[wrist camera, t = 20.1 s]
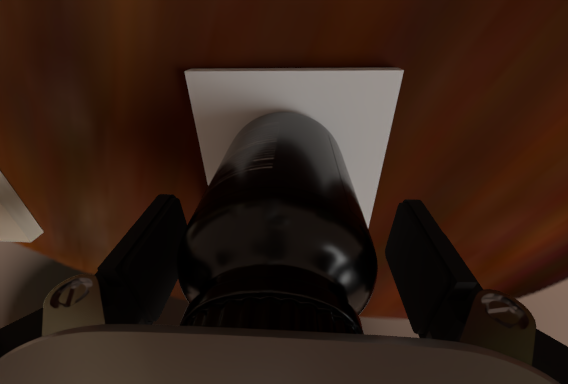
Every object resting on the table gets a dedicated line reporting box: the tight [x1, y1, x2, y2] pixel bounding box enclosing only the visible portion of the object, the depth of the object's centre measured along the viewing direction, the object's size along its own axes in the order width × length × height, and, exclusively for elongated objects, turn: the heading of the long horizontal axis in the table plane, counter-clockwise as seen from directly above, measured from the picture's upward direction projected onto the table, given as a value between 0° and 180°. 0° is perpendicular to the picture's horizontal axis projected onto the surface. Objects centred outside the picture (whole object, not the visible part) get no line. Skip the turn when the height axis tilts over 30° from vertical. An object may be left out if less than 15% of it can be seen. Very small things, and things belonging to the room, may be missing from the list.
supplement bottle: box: [177, 112, 378, 335], centre depth 11 cm, size 7×7×12 cm
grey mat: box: [184, 68, 404, 227], centre depth 16 cm, size 11×11×1 cm
